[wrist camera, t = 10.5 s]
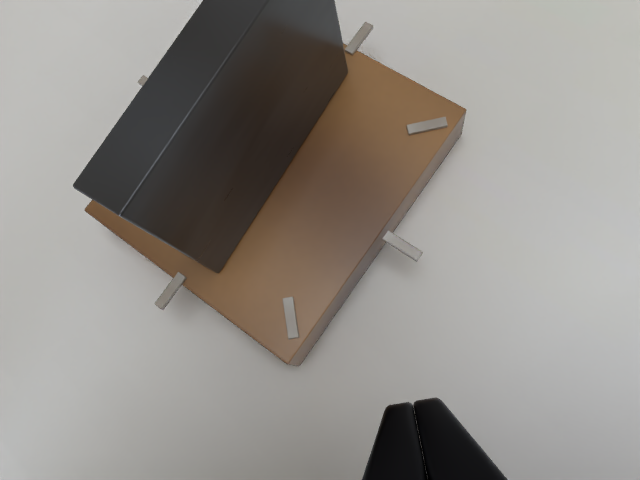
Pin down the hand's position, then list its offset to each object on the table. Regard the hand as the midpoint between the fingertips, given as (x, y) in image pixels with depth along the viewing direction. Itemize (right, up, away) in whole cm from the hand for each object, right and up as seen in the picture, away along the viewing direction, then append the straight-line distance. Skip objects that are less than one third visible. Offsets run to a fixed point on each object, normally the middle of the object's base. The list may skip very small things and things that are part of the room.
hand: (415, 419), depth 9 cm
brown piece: (-3, +5, +14) cm, 15 cm away
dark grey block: (-3, +6, +12) cm, 14 cm away
